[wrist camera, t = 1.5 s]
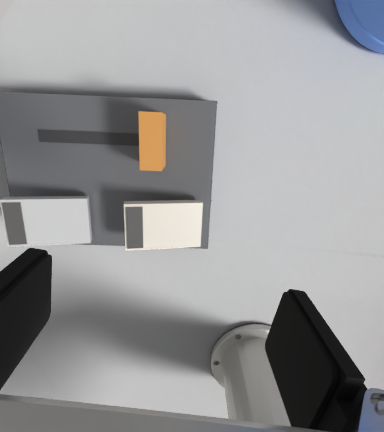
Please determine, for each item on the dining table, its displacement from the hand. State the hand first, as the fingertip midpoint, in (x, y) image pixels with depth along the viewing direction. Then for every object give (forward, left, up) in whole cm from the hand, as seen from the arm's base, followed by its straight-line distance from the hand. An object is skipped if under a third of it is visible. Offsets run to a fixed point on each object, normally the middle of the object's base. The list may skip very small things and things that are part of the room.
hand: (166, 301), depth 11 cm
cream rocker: (+2, +3, -18) cm, 18 cm away
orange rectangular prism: (+3, -5, -19) cm, 20 cm away
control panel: (+8, -1, -23) cm, 24 cm away
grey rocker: (+14, +3, -18) cm, 22 cm away
